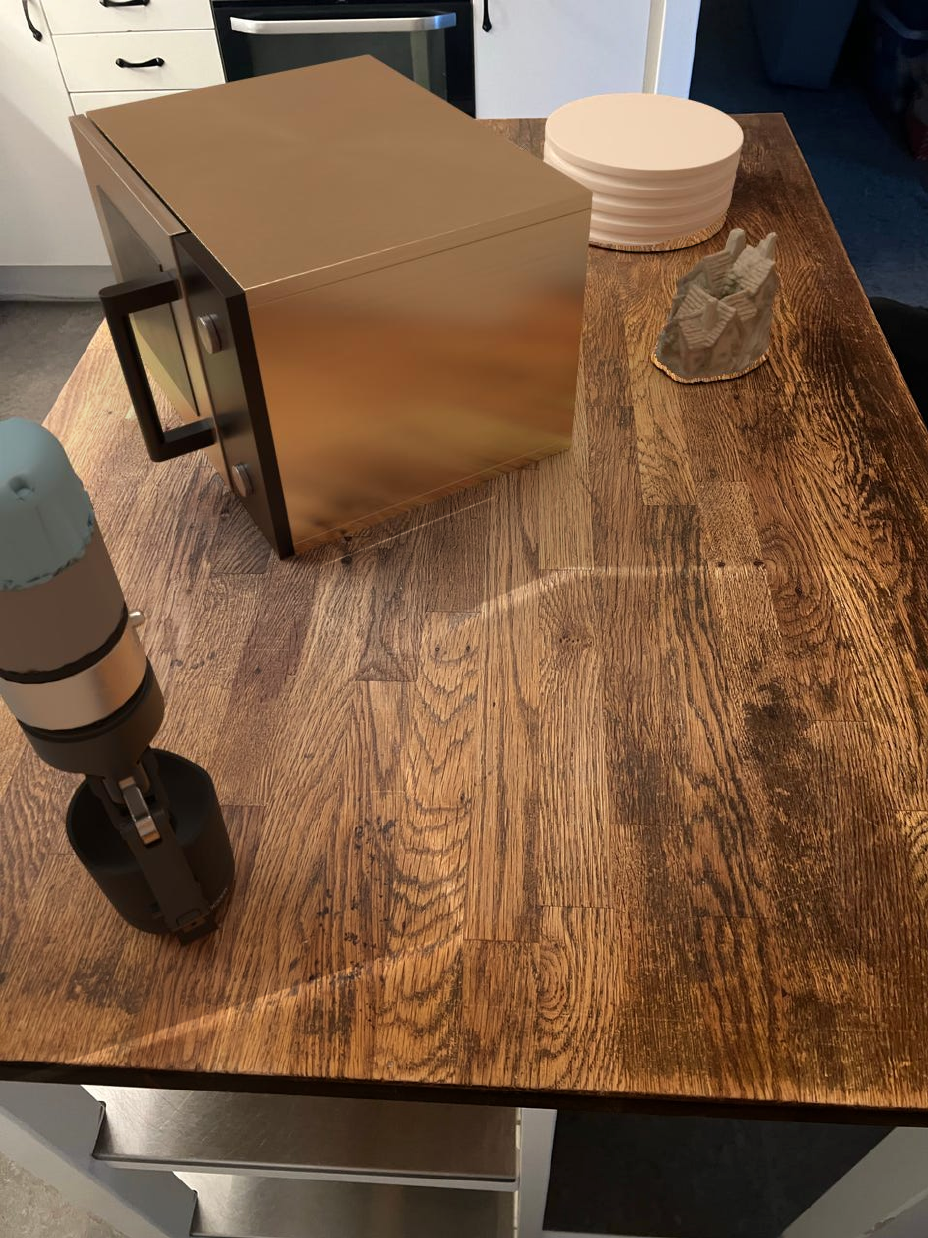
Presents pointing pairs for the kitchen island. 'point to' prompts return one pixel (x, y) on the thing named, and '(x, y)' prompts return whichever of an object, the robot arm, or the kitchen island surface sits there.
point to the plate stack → (646, 163)
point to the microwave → (365, 288)
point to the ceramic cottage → (721, 311)
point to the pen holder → (192, 826)
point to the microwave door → (149, 305)
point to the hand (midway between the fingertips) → (175, 879)
